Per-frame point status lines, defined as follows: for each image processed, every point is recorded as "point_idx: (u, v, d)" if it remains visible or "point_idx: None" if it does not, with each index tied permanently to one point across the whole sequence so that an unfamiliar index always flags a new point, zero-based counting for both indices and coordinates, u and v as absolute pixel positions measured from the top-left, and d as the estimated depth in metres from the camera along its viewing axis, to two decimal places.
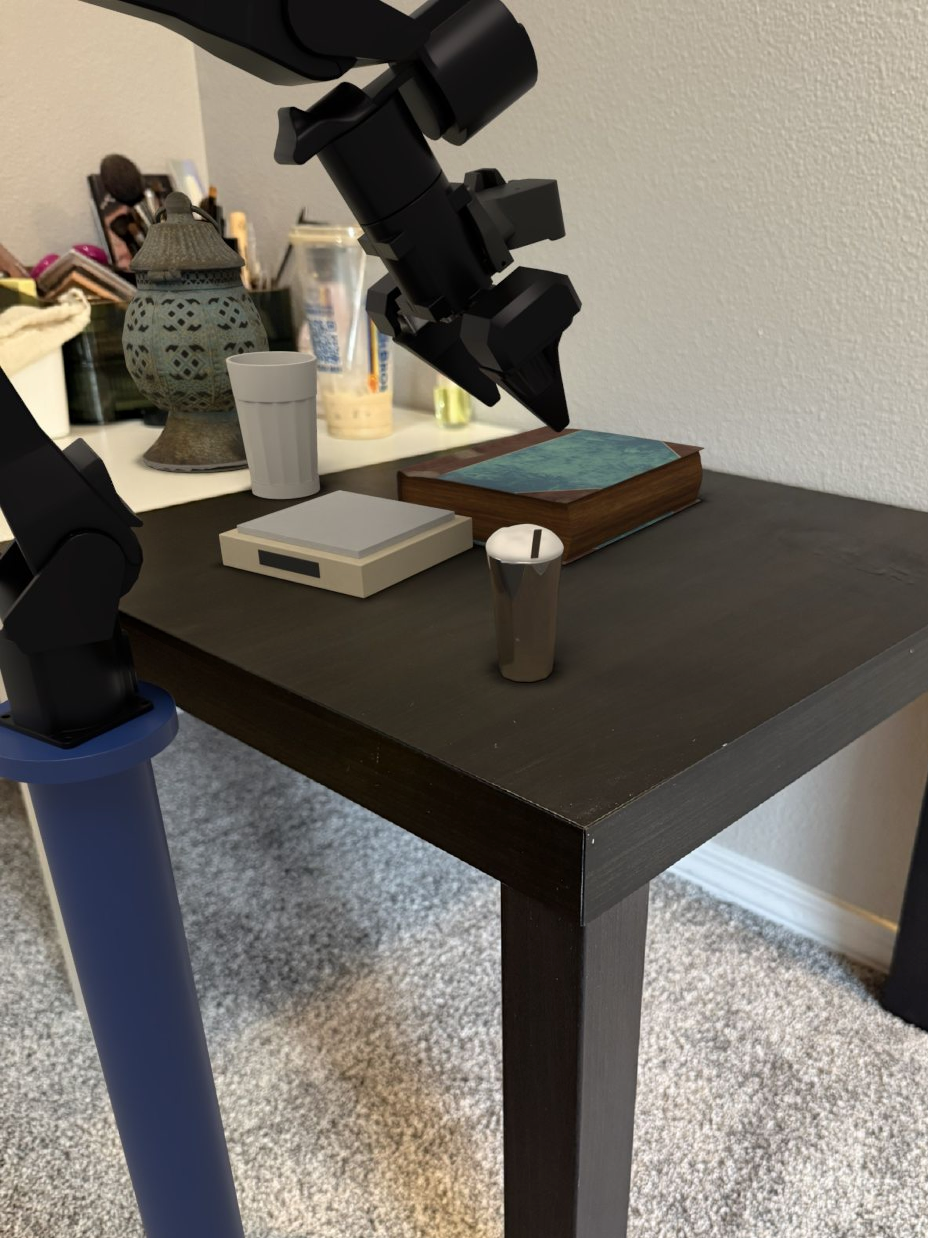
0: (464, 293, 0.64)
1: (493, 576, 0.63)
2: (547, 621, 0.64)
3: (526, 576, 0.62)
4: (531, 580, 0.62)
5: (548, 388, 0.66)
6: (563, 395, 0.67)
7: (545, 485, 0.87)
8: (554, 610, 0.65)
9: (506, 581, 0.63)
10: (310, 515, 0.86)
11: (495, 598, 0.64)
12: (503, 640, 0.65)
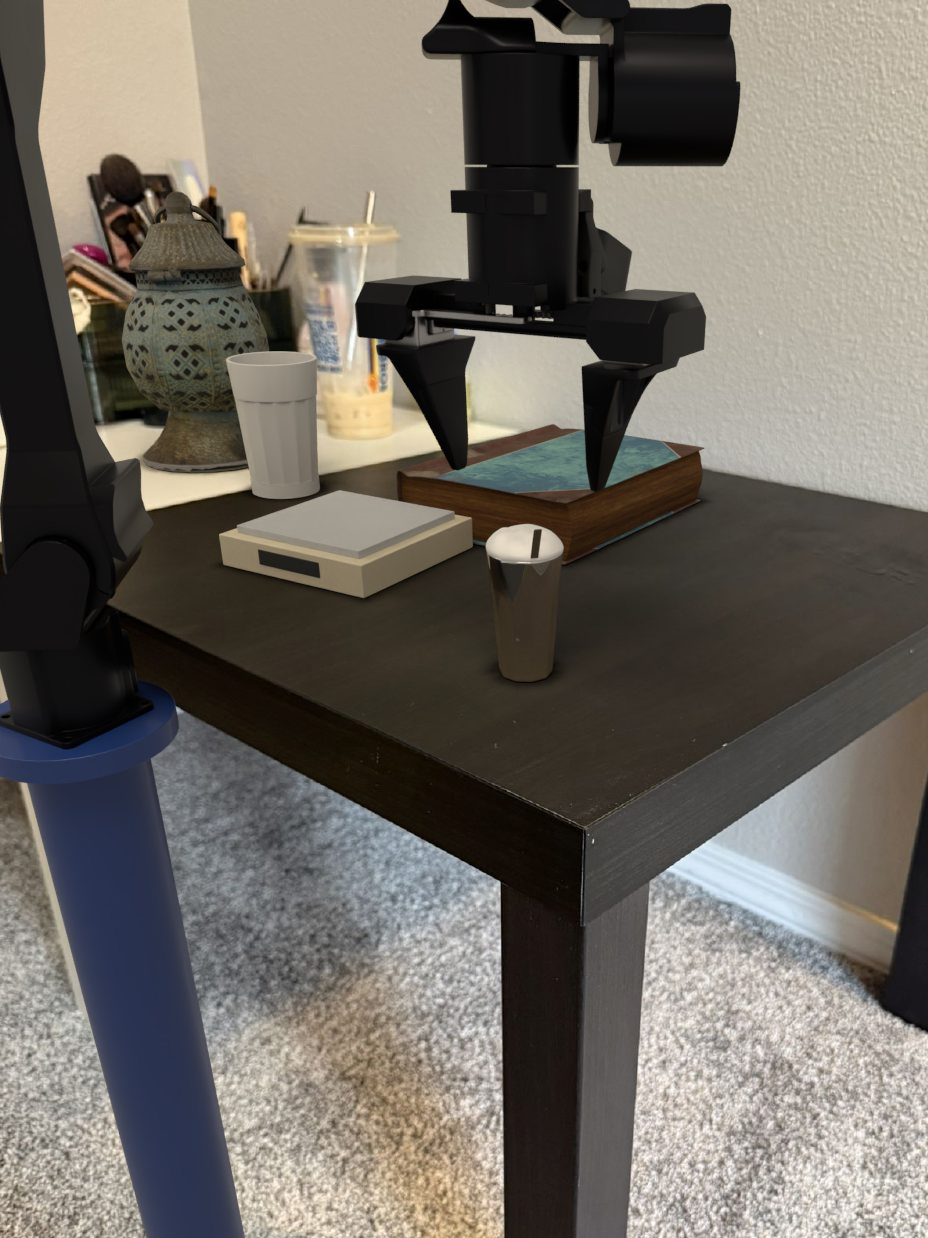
0: (564, 293, 0.55)
1: (493, 576, 0.63)
2: (547, 621, 0.64)
3: (526, 576, 0.62)
4: (531, 580, 0.62)
5: (617, 431, 0.57)
6: (617, 450, 0.59)
7: (545, 485, 0.87)
8: (554, 610, 0.65)
9: (506, 581, 0.63)
10: (310, 515, 0.86)
11: (495, 598, 0.64)
12: (503, 640, 0.65)
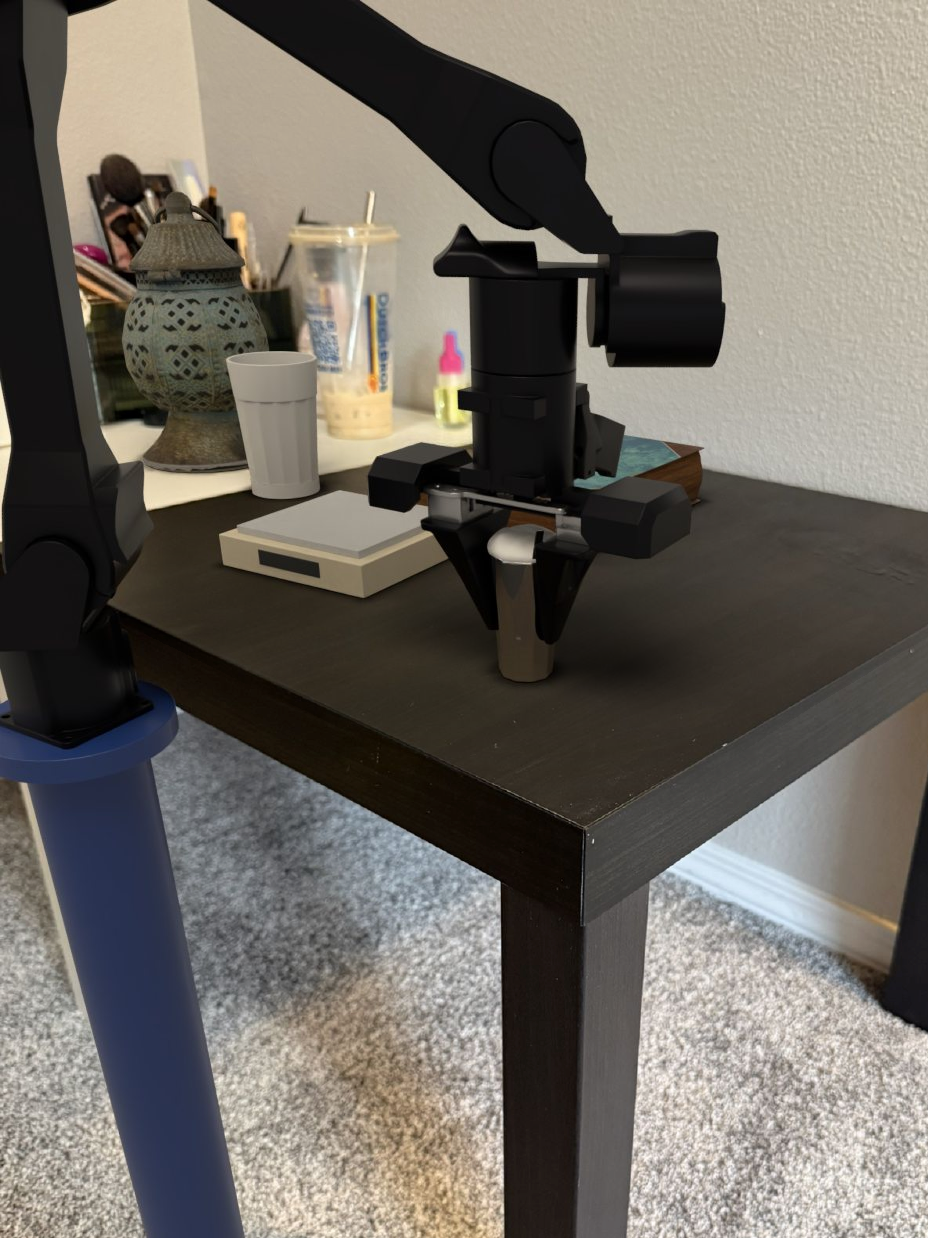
0: (561, 481, 0.60)
1: (494, 576, 0.63)
2: None
3: (528, 577, 0.62)
4: (532, 581, 0.62)
5: (569, 594, 0.63)
6: (570, 608, 0.64)
7: None
8: None
9: (507, 581, 0.63)
10: (310, 515, 0.86)
11: (496, 598, 0.64)
12: (503, 640, 0.65)
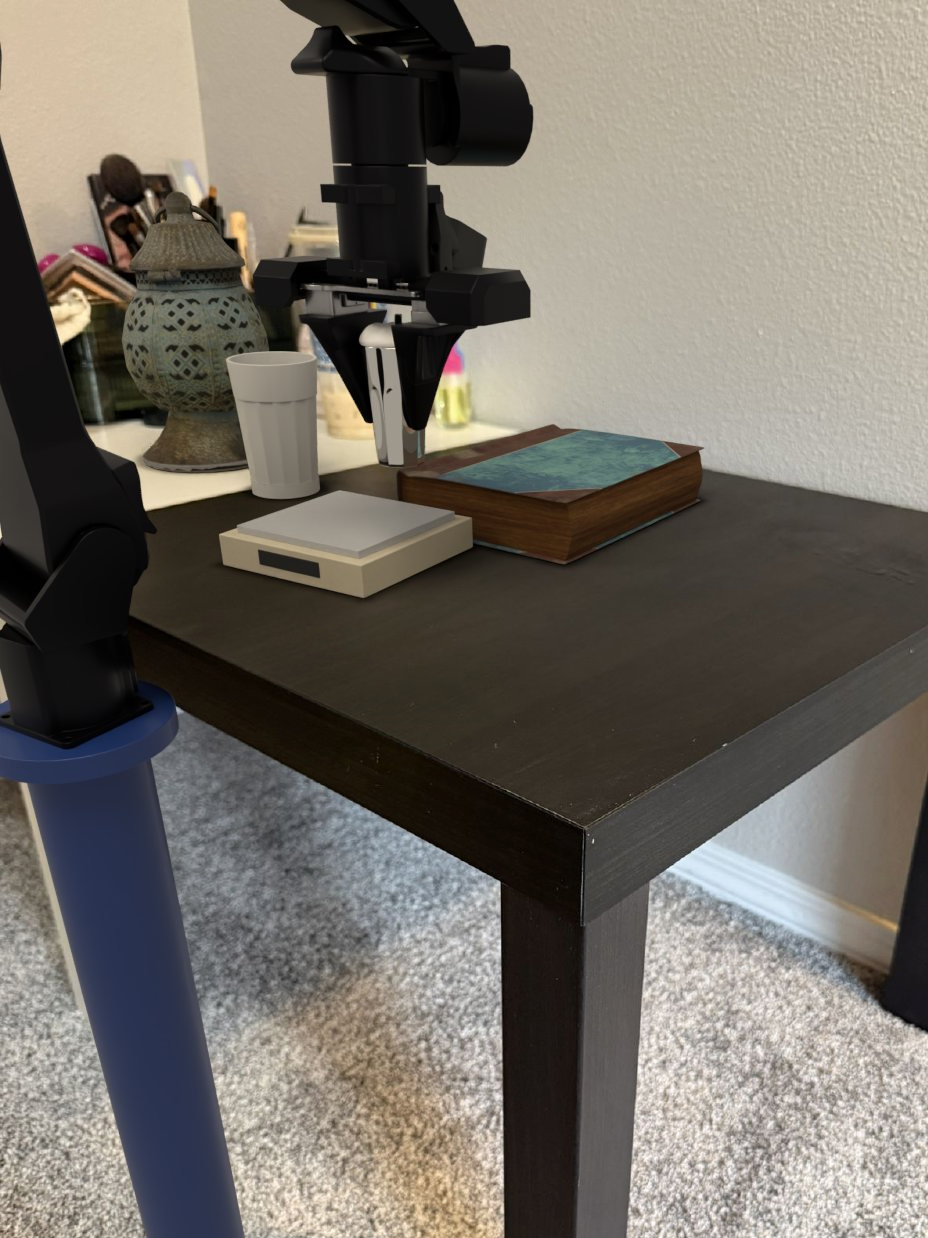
0: (415, 269, 0.67)
1: (365, 365, 0.71)
2: None
3: (392, 362, 0.70)
4: (397, 366, 0.70)
5: (430, 380, 0.71)
6: (434, 396, 0.72)
7: (545, 484, 0.87)
8: None
9: (375, 367, 0.70)
10: (310, 515, 0.86)
11: (368, 387, 0.72)
12: (377, 427, 0.73)
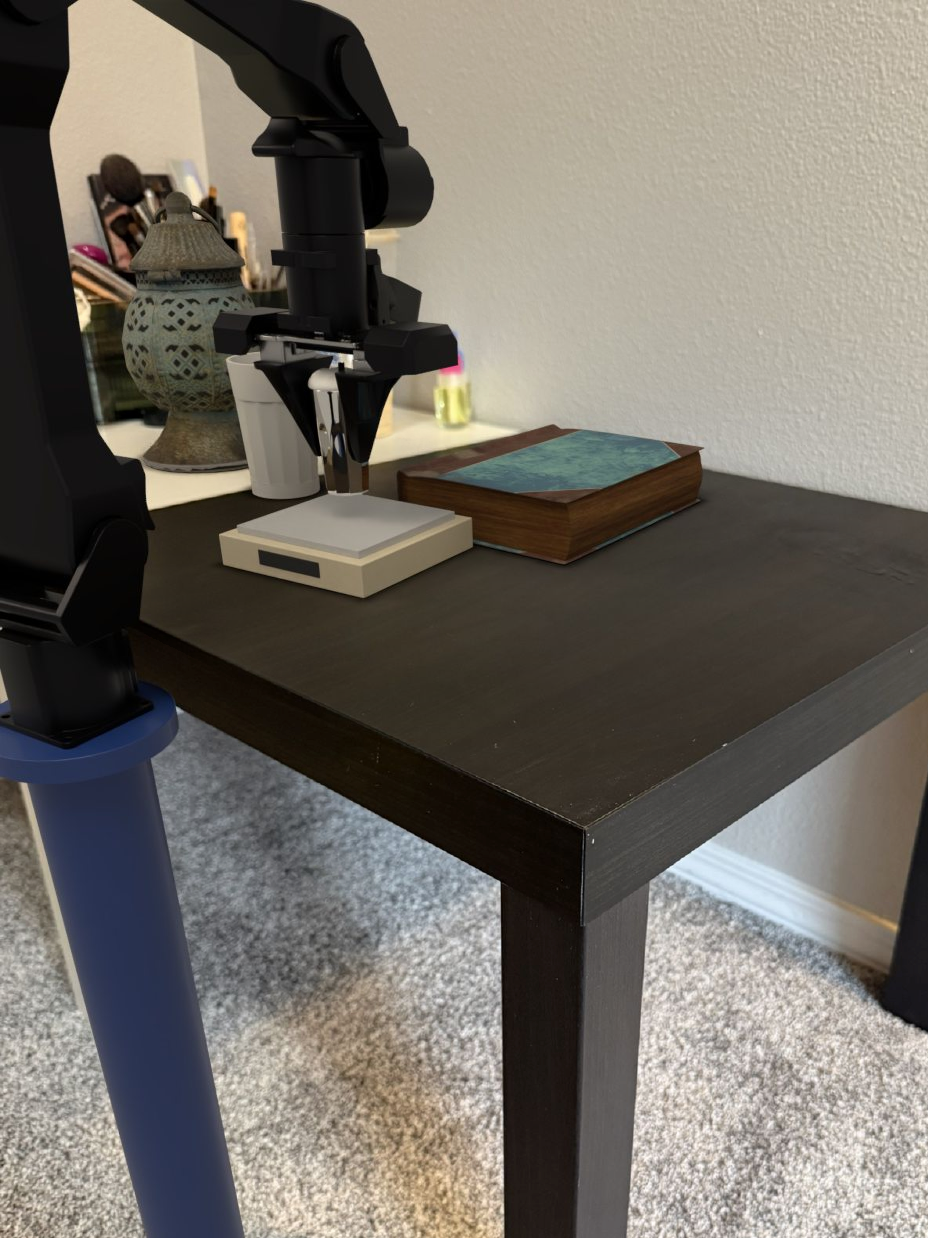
0: (355, 323, 0.77)
1: (313, 405, 0.80)
2: None
3: (337, 404, 0.79)
4: (341, 407, 0.79)
5: (371, 419, 0.80)
6: (375, 433, 0.81)
7: (545, 484, 0.87)
8: None
9: (322, 408, 0.80)
10: (310, 515, 0.86)
11: (316, 425, 0.81)
12: (325, 460, 0.82)
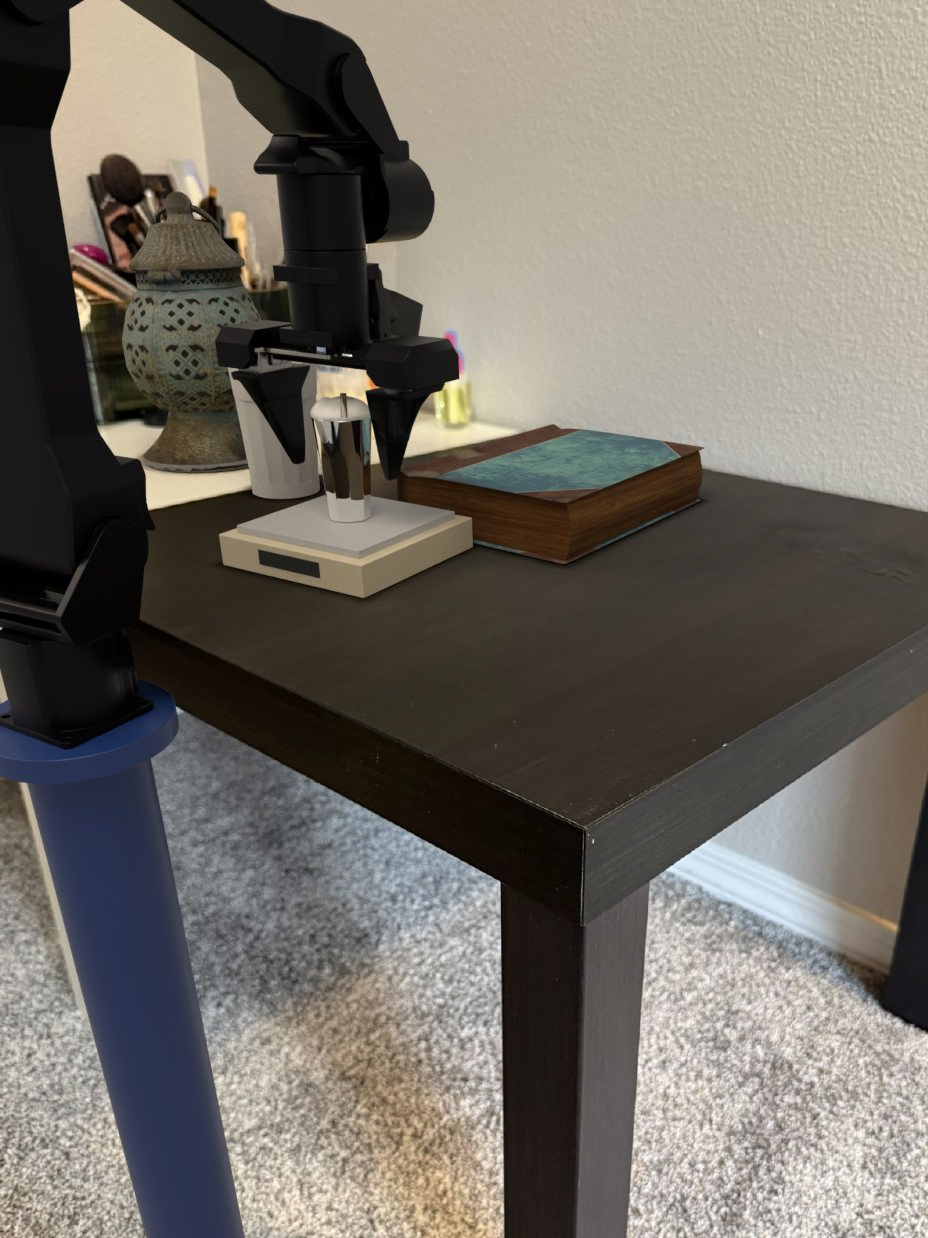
0: (357, 338, 0.77)
1: (316, 435, 0.81)
2: (360, 472, 0.82)
3: (339, 433, 0.80)
4: (343, 436, 0.80)
5: (401, 437, 0.79)
6: (404, 450, 0.81)
7: (545, 484, 0.87)
8: (367, 464, 0.83)
9: (324, 437, 0.81)
10: (310, 515, 0.86)
11: (319, 453, 0.82)
12: (327, 488, 0.83)
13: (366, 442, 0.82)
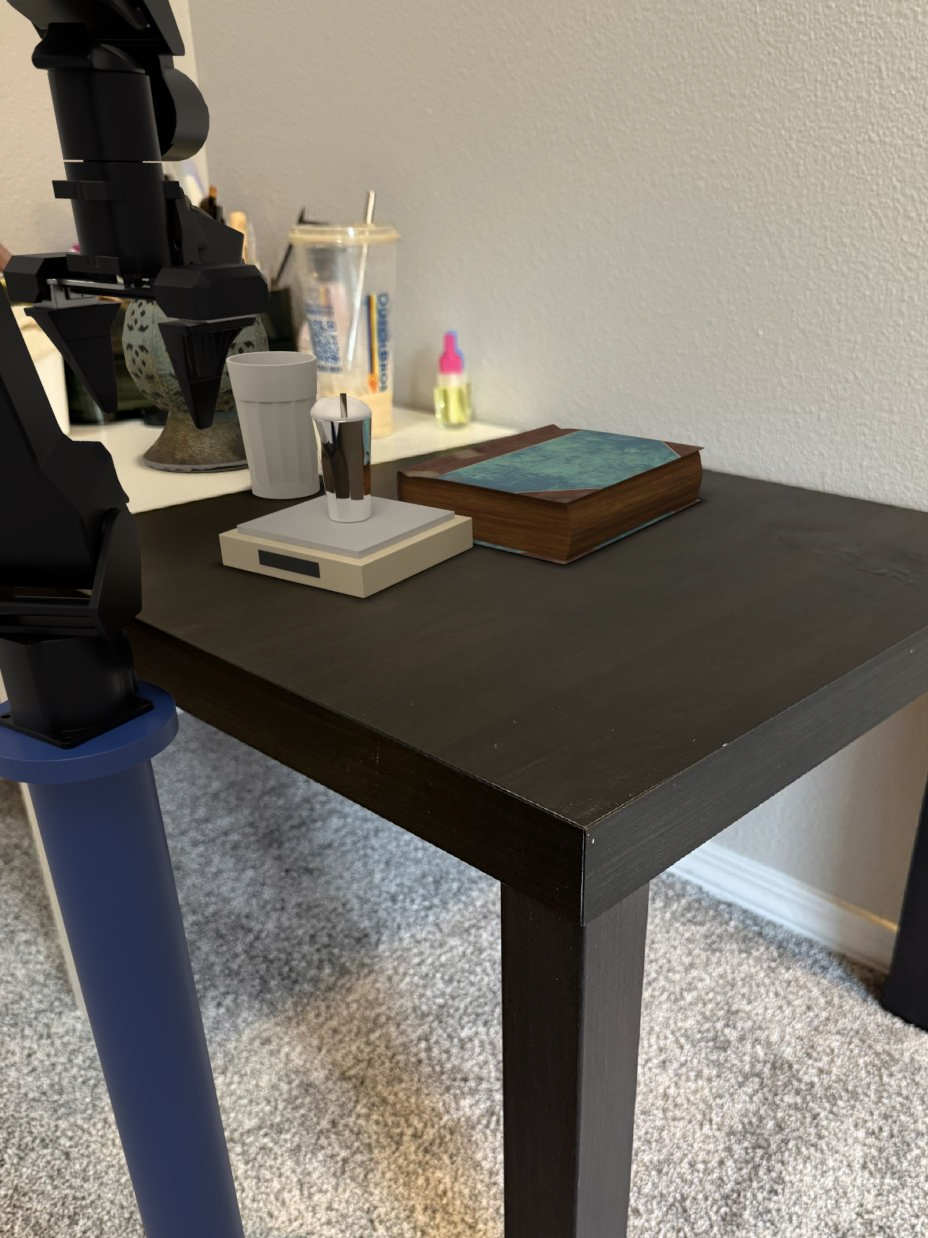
0: (153, 265, 0.68)
1: (316, 435, 0.81)
2: (360, 472, 0.82)
3: (339, 433, 0.80)
4: (343, 436, 0.80)
5: (209, 378, 0.70)
6: (216, 395, 0.72)
7: (545, 484, 0.87)
8: (367, 464, 0.83)
9: (324, 437, 0.81)
10: (310, 515, 0.86)
11: (319, 453, 0.82)
12: (327, 488, 0.83)
13: (366, 442, 0.82)
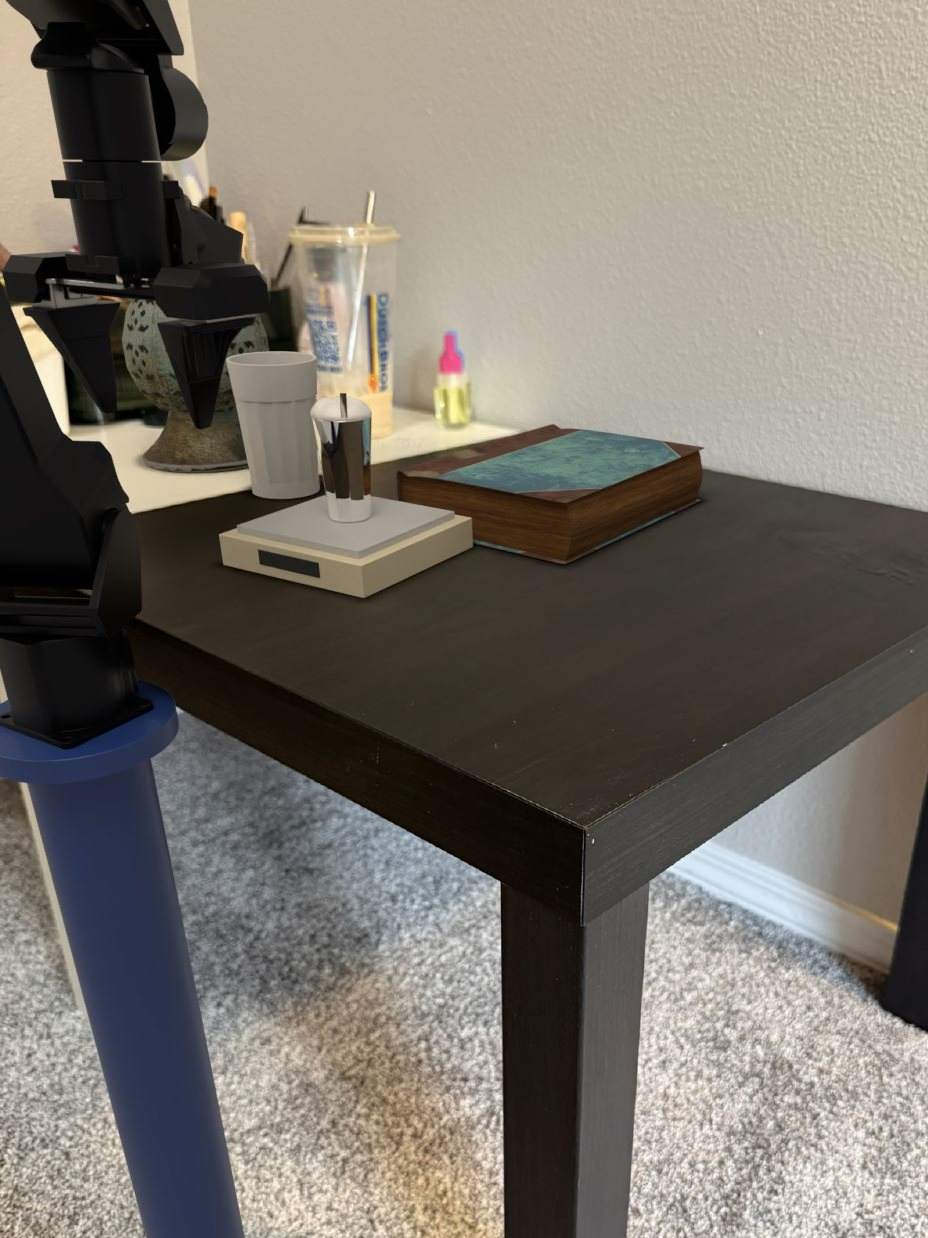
0: (152, 264, 0.68)
1: (316, 435, 0.81)
2: (360, 472, 0.82)
3: (339, 433, 0.80)
4: (343, 436, 0.80)
5: (208, 378, 0.70)
6: (216, 395, 0.72)
7: (545, 484, 0.87)
8: (367, 464, 0.83)
9: (324, 437, 0.81)
10: (310, 515, 0.86)
11: (319, 453, 0.82)
12: (327, 488, 0.83)
13: (366, 442, 0.82)
